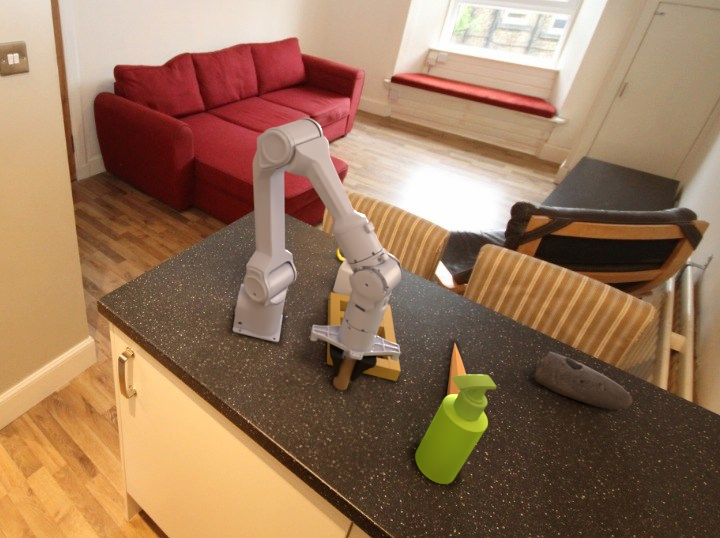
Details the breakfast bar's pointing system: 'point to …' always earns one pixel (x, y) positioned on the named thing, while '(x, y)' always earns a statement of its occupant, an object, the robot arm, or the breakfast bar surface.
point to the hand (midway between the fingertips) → (343, 374)
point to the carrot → (455, 371)
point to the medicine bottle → (343, 279)
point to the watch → (339, 255)
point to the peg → (344, 372)
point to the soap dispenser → (455, 429)
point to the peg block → (385, 331)
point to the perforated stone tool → (580, 383)
